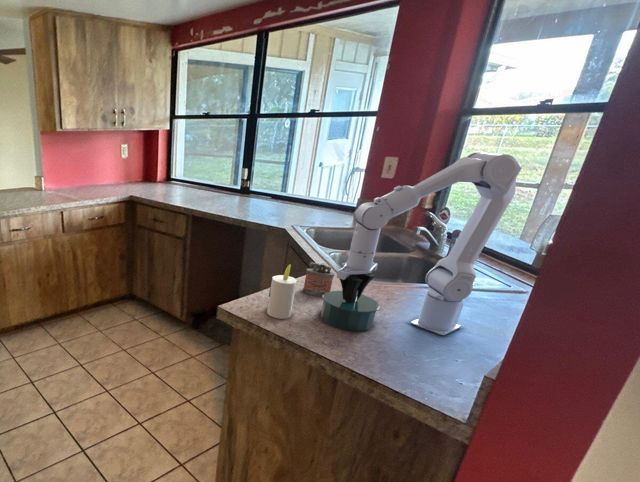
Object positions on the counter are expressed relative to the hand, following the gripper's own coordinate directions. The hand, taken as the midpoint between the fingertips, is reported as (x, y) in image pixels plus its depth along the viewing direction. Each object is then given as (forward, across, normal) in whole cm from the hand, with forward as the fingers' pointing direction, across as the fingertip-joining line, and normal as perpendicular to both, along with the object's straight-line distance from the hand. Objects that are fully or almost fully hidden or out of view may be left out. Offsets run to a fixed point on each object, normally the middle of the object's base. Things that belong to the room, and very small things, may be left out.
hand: (350, 299), depth 108 cm
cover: (+1, 0, 0) cm, 1 cm away
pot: (+6, 0, 0) cm, 6 cm away
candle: (+6, +13, -12) cm, 19 cm away
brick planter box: (+6, -9, -16) cm, 19 cm away
